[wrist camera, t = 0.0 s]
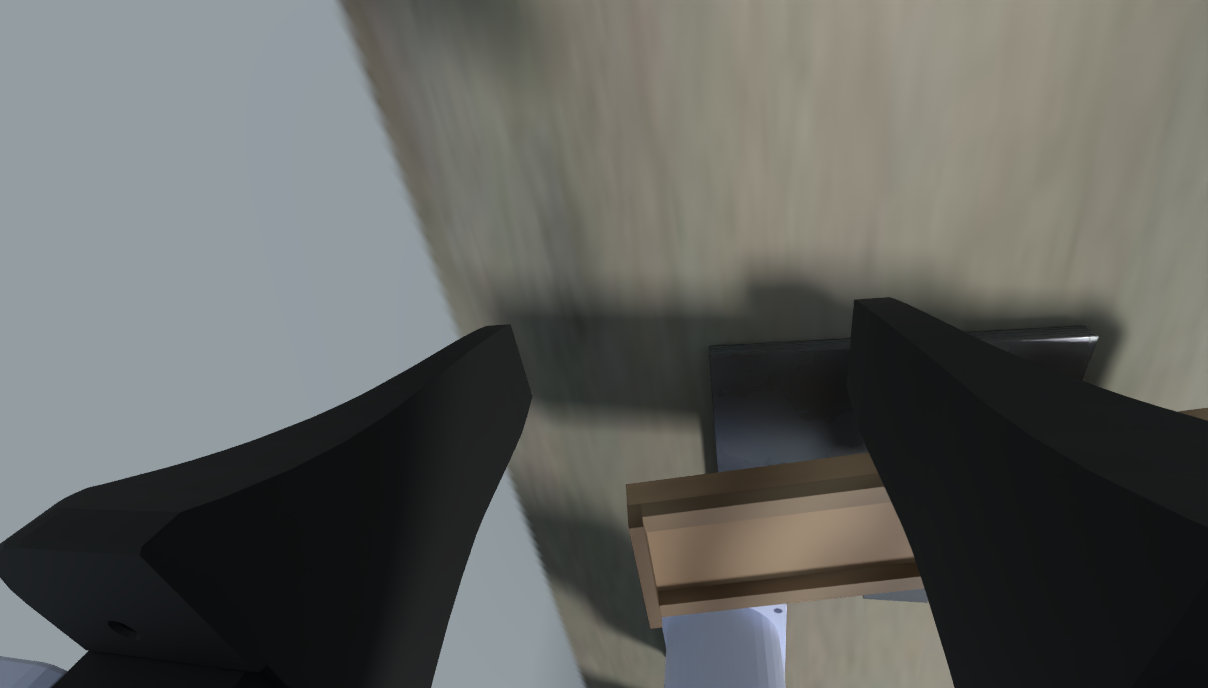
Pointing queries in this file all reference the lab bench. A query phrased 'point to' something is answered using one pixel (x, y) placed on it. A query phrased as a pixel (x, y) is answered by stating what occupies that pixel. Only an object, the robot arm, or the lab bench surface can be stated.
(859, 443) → the pivot stand
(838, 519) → the beam
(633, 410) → the lab bench surface
